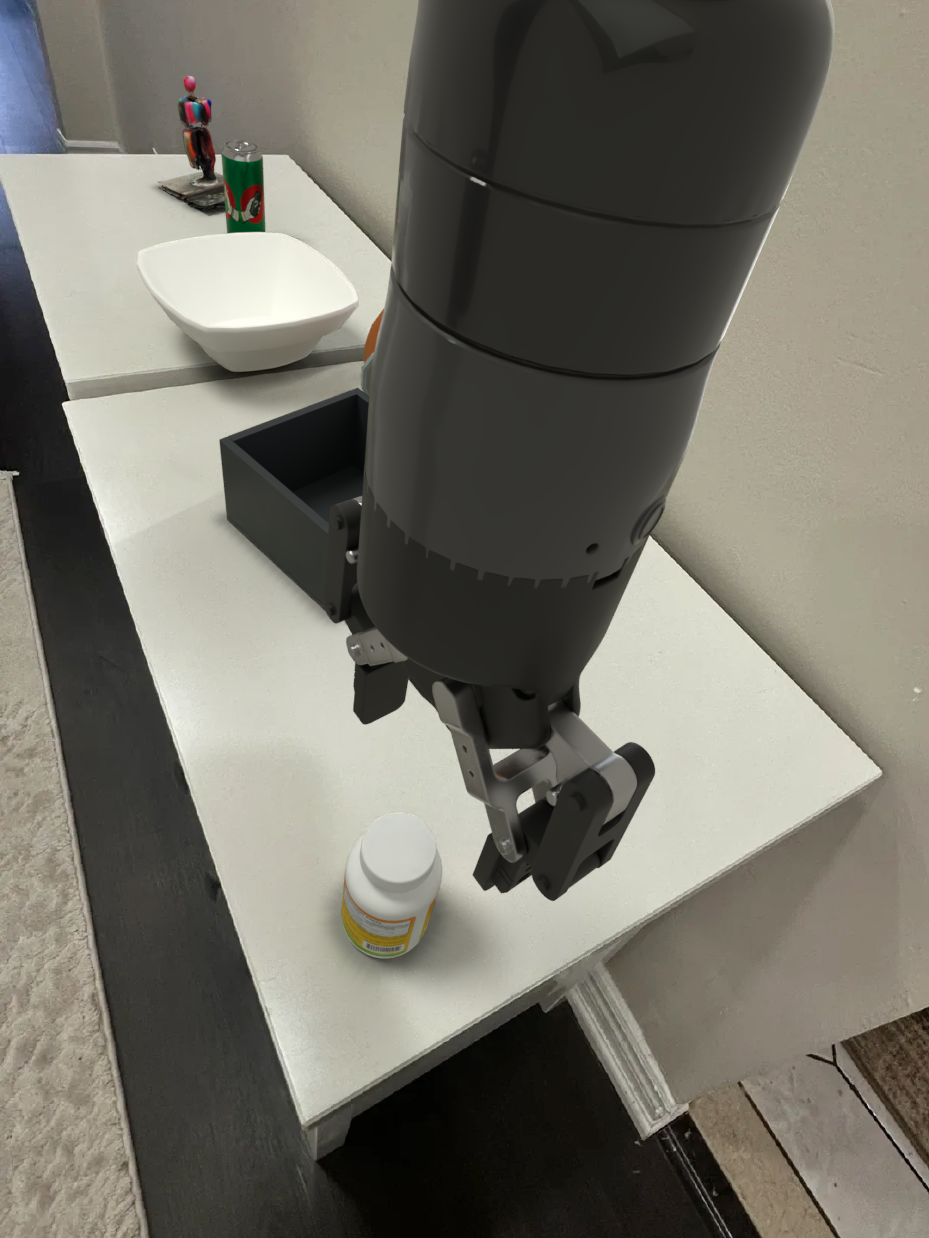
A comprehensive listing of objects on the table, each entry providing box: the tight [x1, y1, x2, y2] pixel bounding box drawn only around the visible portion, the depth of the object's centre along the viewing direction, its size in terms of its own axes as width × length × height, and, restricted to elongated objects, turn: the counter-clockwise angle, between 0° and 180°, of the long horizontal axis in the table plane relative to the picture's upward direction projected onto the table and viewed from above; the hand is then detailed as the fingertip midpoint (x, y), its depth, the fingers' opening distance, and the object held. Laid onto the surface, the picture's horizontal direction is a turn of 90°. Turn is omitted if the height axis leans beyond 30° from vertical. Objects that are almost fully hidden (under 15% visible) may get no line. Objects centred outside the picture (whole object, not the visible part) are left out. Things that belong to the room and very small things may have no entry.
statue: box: [157, 75, 225, 210], centre depth 108 cm, size 11×9×15 cm
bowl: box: [136, 231, 360, 373], centre depth 84 cm, size 21×21×9 cm
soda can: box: [220, 139, 267, 234], centre depth 100 cm, size 5×5×12 cm
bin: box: [218, 387, 369, 611], centre depth 66 cm, size 15×15×9 cm
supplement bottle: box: [341, 811, 443, 959], centre depth 44 cm, size 5×5×10 cm
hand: (435, 786), depth 31 cm, fingers open, 8 cm apart
